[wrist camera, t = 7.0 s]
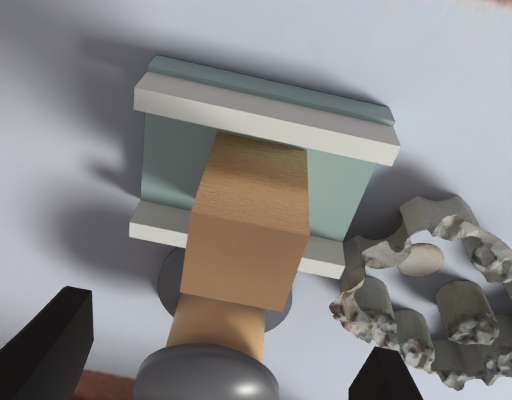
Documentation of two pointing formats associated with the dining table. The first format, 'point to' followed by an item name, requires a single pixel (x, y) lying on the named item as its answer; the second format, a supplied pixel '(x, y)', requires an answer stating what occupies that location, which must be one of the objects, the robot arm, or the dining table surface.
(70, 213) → the dining table surface
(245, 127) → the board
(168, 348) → the spool
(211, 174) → the wooden block
